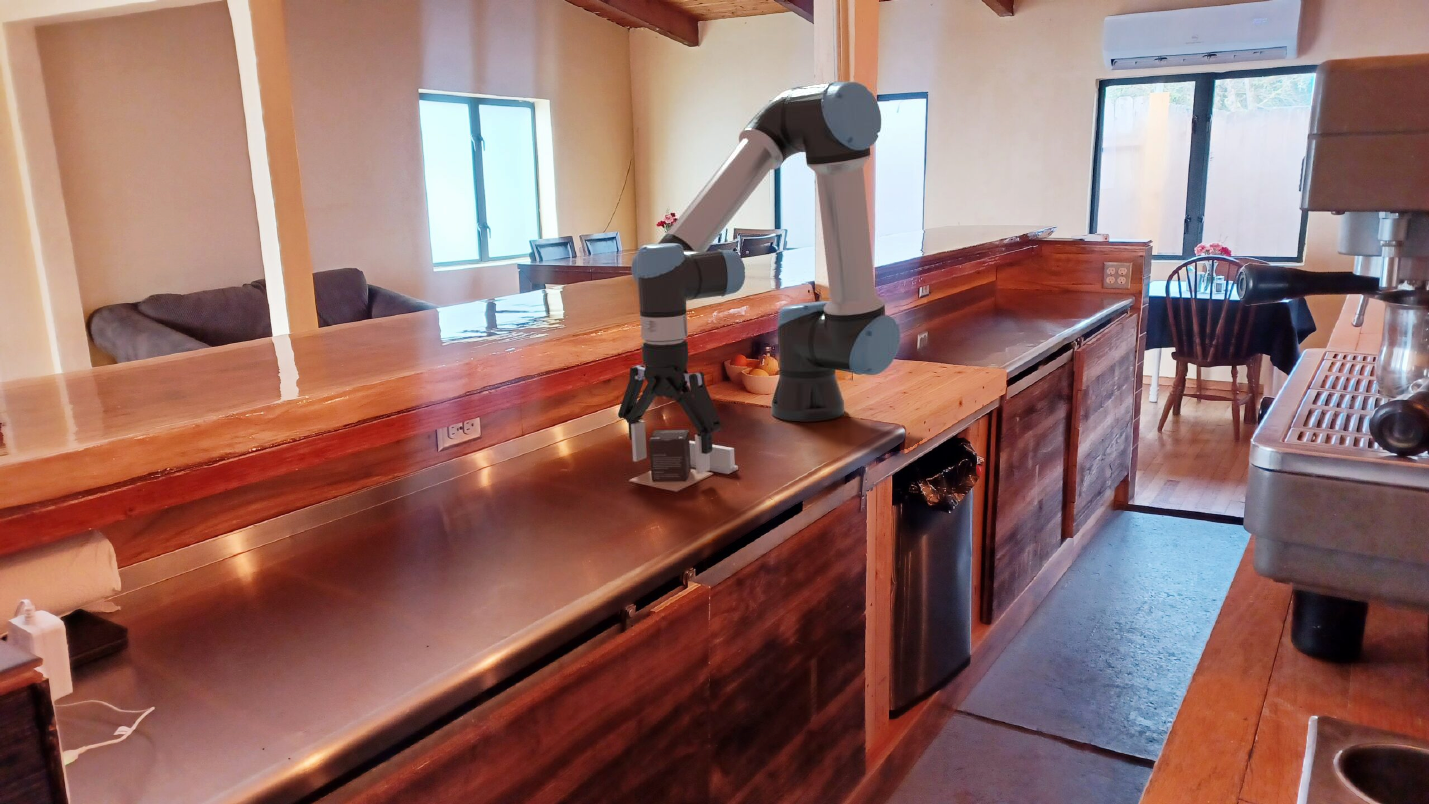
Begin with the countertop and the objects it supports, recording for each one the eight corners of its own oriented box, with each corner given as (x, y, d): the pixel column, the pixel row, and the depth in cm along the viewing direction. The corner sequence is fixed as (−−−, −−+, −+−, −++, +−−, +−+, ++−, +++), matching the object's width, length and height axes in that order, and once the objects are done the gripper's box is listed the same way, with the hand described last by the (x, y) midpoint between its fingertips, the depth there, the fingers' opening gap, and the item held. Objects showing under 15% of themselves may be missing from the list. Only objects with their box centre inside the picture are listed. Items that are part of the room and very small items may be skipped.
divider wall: (678, 458, 170) (677, 436, 169) (737, 469, 162) (737, 446, 161) (668, 462, 167) (666, 440, 166) (727, 474, 160) (726, 451, 159)
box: (691, 470, 161) (689, 429, 160) (687, 482, 155) (685, 439, 154) (656, 470, 162) (654, 429, 160) (650, 482, 156) (648, 439, 154)
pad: (667, 465, 166) (667, 464, 165) (713, 474, 160) (712, 472, 160) (629, 481, 158) (629, 479, 158) (676, 491, 152) (676, 489, 152)
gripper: (592, 338, 158) (600, 460, 163) (712, 350, 143) (717, 483, 148) (622, 331, 163) (629, 449, 168) (740, 342, 149) (744, 470, 154)
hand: (670, 465), depth 158 cm, fingers open, 13 cm apart
